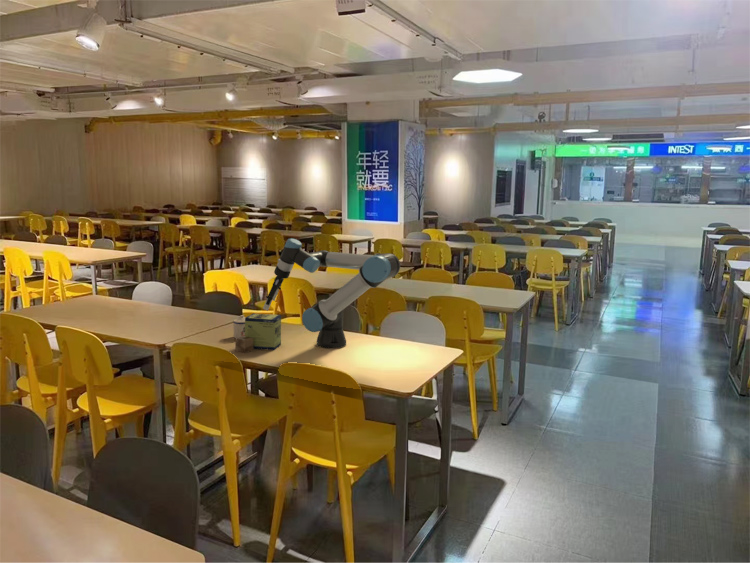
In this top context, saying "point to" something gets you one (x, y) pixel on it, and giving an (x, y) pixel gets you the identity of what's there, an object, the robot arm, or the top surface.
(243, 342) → the numbered walnut block
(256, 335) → the protein box
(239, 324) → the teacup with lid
